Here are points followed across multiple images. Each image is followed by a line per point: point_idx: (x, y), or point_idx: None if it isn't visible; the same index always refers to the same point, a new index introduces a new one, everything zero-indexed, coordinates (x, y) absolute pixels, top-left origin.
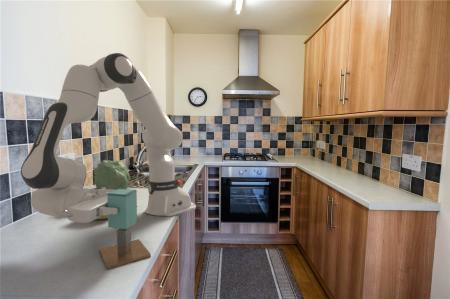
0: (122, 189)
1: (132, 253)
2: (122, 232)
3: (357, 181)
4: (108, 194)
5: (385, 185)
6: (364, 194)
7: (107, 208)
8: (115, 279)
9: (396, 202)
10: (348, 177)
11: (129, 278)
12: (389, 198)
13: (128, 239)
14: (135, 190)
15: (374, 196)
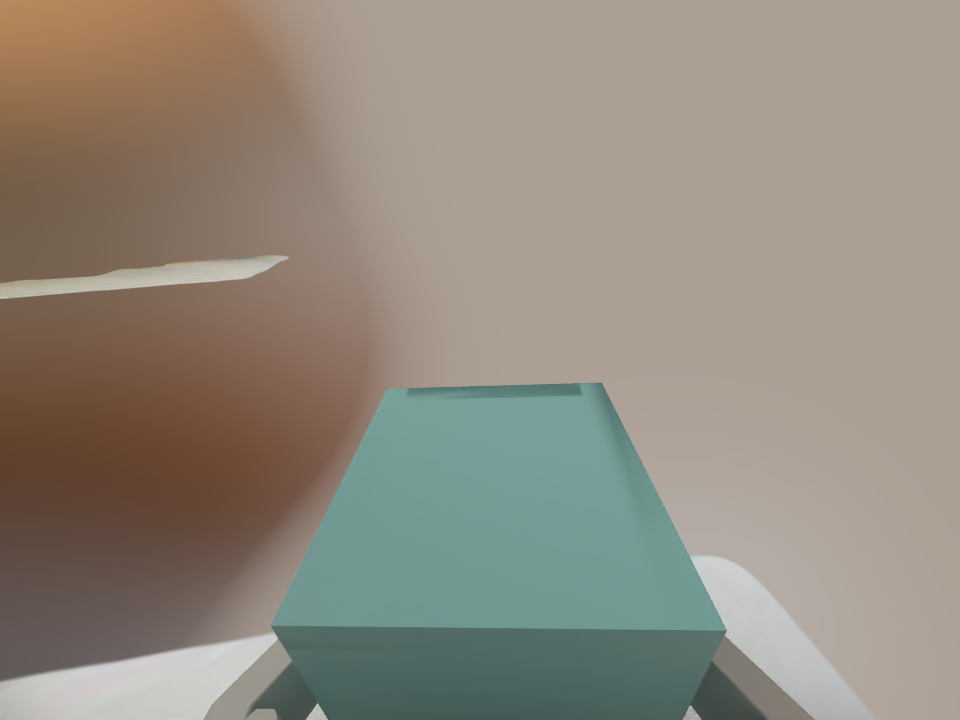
0: (357, 524)
1: None
2: None
3: (111, 276)
4: (704, 612)
5: (173, 264)
6: (201, 278)
7: (741, 654)
8: None
9: (264, 267)
10: (65, 279)
11: None
12: (242, 268)
13: None
14: (409, 390)
15: (220, 274)
